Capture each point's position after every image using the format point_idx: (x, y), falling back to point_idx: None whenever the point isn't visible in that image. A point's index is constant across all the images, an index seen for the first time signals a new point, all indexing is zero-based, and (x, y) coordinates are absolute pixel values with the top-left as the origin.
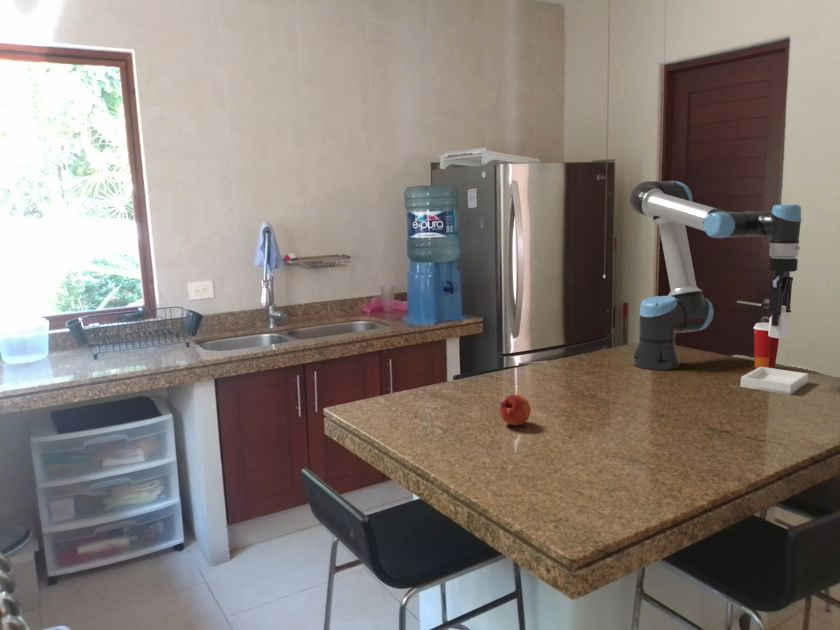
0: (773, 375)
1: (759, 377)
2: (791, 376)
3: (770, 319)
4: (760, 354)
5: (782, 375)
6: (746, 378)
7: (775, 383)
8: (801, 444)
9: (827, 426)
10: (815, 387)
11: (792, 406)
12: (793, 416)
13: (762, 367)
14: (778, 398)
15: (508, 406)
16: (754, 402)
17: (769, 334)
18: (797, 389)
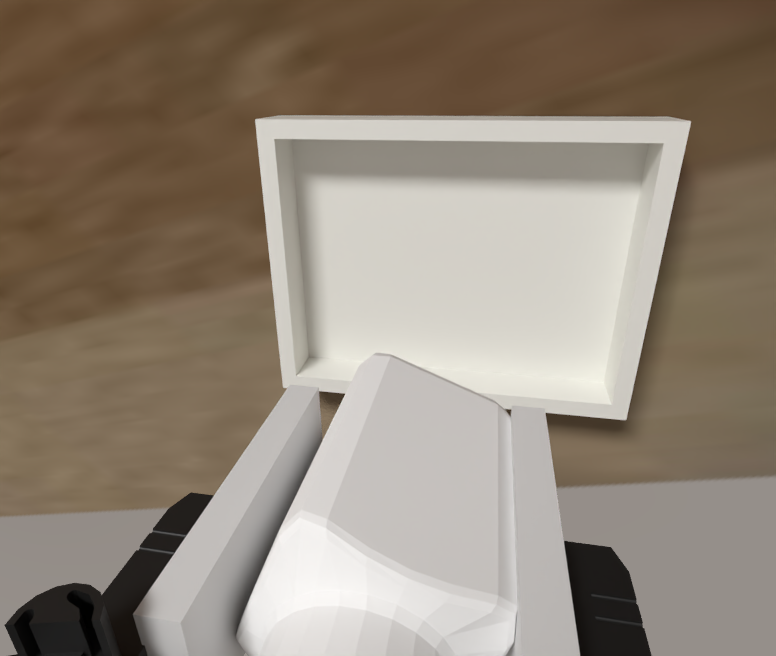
0: (635, 217)
1: (530, 155)
2: (618, 325)
3: (291, 508)
4: None
5: (627, 274)
6: (261, 156)
7: (277, 318)
8: None
9: (27, 504)
10: None
11: (140, 398)
12: (31, 419)
13: (663, 143)
14: (209, 334)
15: None
16: (69, 268)
17: (356, 372)
18: None
